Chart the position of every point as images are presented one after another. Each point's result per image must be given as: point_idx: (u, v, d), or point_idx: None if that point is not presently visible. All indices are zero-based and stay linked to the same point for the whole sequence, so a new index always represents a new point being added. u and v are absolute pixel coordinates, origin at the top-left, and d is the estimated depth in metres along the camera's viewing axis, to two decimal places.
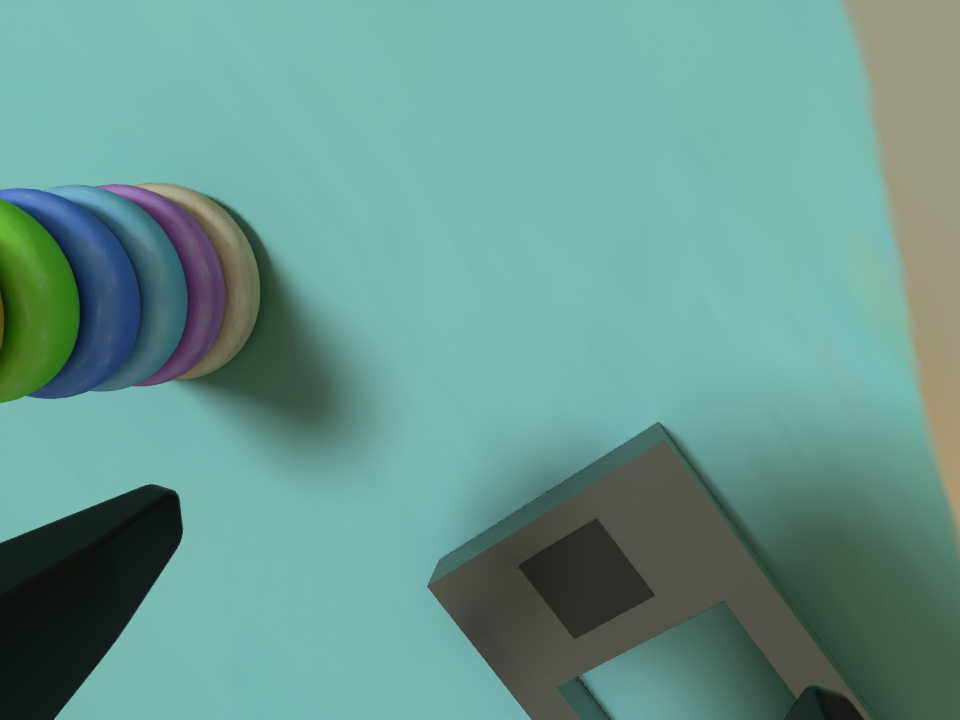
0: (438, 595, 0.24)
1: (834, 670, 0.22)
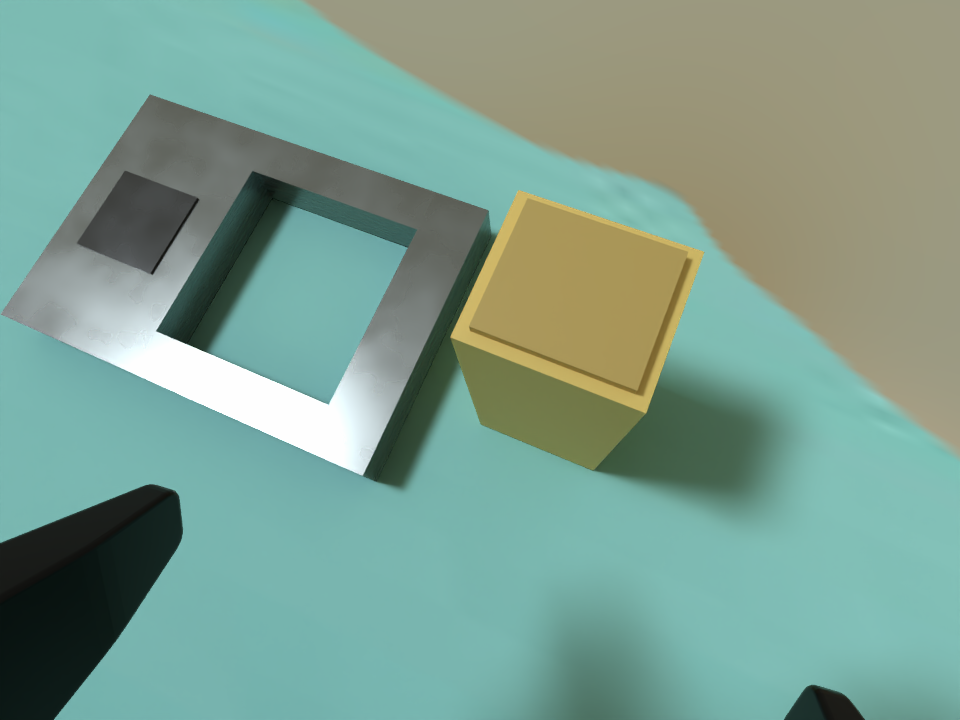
0: (14, 315, 0.23)
1: (363, 168, 0.24)
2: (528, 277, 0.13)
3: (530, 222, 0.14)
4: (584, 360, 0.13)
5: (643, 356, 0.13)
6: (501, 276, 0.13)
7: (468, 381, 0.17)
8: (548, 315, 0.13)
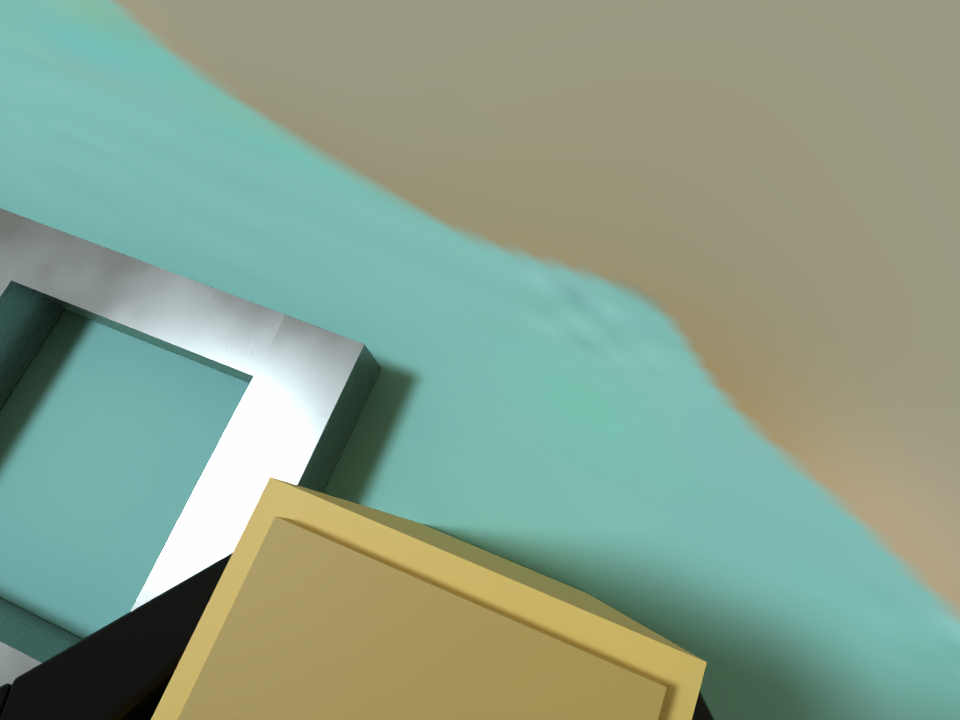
0: None
1: (178, 276, 0.16)
2: None
3: (274, 588, 0.06)
4: None
5: None
6: None
7: None
8: None
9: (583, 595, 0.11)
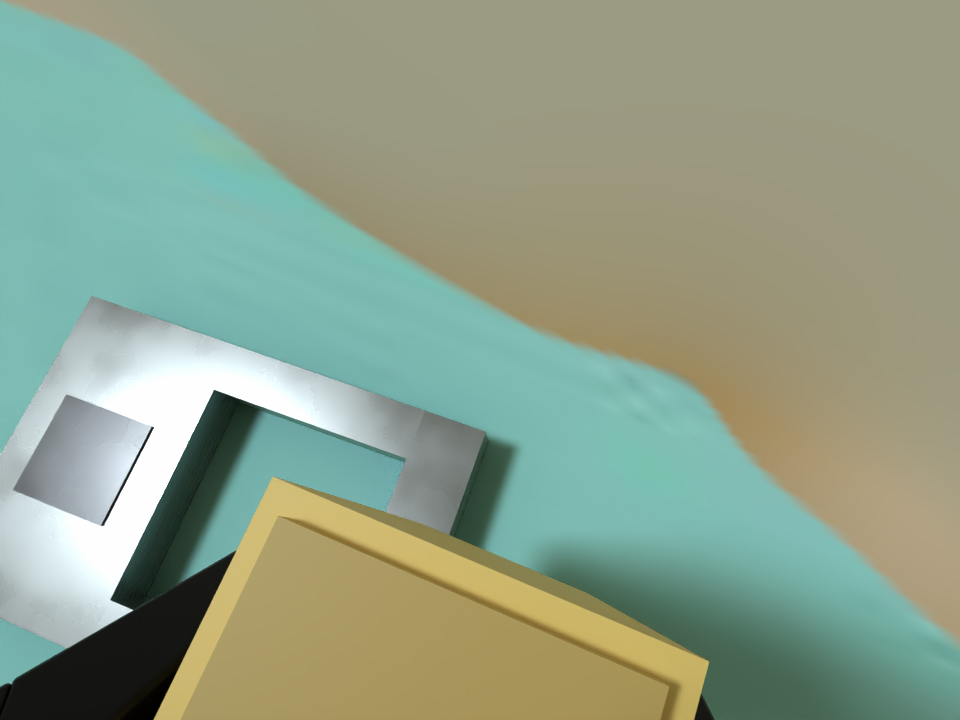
0: None
1: (340, 382, 0.21)
2: None
3: (277, 587, 0.06)
4: None
5: None
6: None
7: None
8: None
9: (584, 595, 0.11)
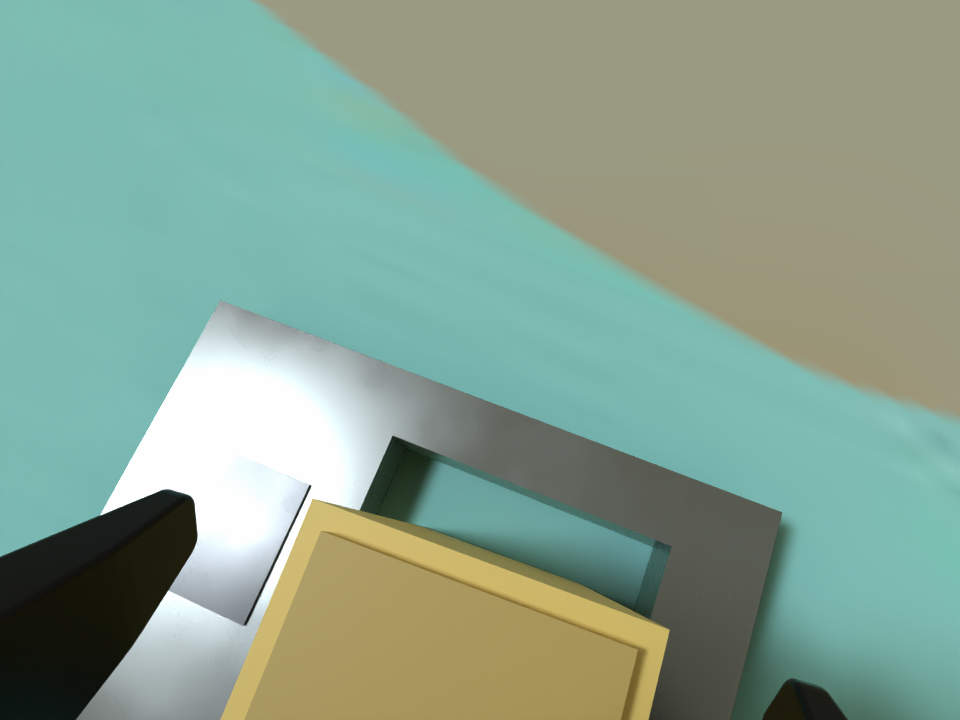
0: None
1: (568, 433, 0.16)
2: None
3: (324, 588, 0.07)
4: None
5: None
6: None
7: None
8: None
9: (574, 584, 0.12)
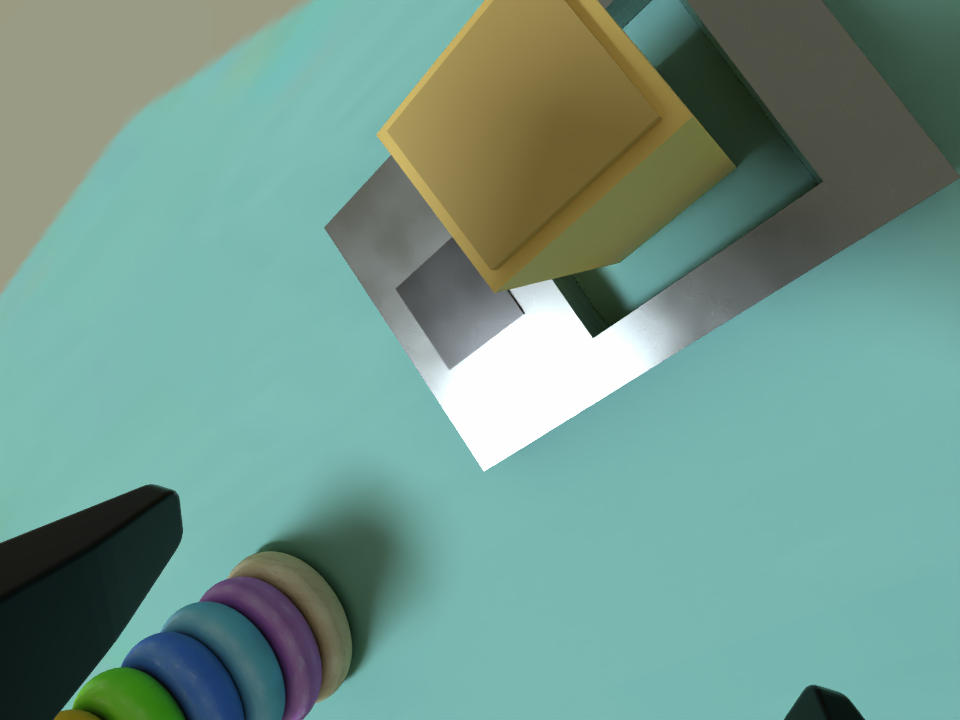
0: (492, 460, 0.22)
1: None
2: (470, 177, 0.11)
3: (413, 142, 0.11)
4: (590, 162, 0.10)
5: (623, 85, 0.10)
6: (455, 206, 0.11)
7: (560, 275, 0.15)
8: (520, 176, 0.11)
9: None
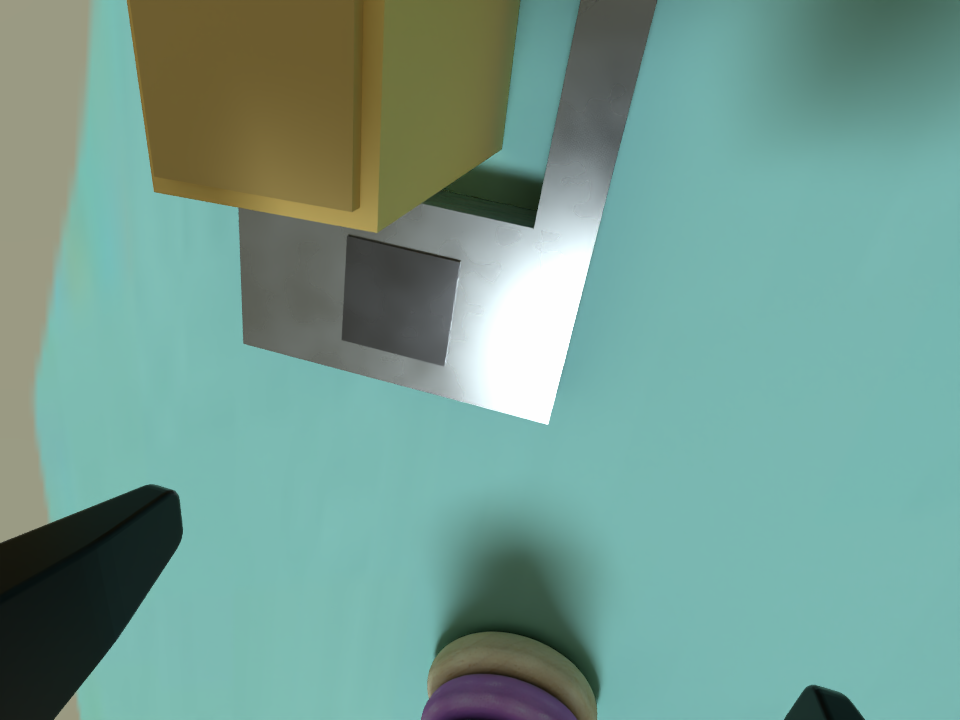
0: (546, 409, 0.20)
1: None
2: (256, 144, 0.09)
3: (183, 163, 0.09)
4: (339, 17, 0.08)
5: None
6: (270, 184, 0.09)
7: (442, 184, 0.13)
8: (296, 97, 0.09)
9: None
